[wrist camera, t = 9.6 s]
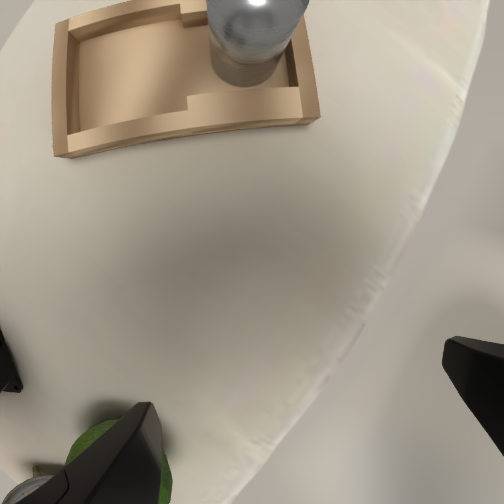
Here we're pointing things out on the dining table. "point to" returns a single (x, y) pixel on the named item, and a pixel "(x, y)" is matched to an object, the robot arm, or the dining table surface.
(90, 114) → the light brown wooden tray
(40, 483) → the alarm clock
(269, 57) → the grey metal peg
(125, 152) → the dining table surface
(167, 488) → the avocado
